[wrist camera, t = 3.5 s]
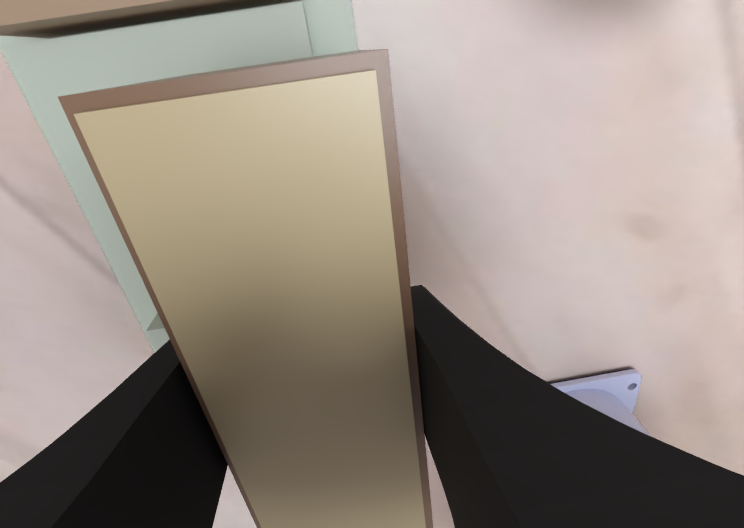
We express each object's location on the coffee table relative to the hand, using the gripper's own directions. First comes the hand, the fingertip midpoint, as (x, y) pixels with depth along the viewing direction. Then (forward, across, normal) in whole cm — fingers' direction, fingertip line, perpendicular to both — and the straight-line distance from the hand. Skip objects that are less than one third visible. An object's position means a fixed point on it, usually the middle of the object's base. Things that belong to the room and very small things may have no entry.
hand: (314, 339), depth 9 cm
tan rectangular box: (+3, 0, 0) cm, 4 cm away
